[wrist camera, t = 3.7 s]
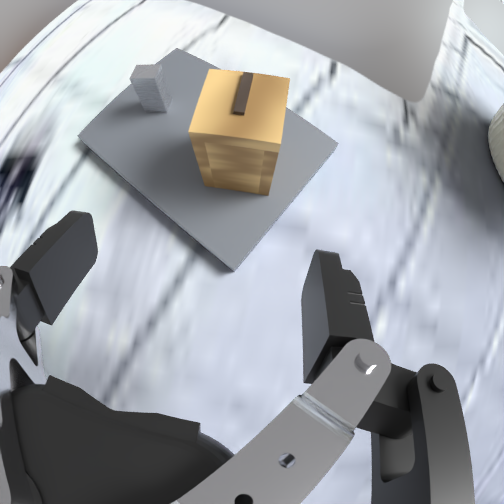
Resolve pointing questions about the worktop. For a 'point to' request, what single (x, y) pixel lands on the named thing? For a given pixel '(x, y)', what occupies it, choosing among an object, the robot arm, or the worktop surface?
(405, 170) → the worktop surface
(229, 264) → the slate base plate
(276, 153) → the ochre knob
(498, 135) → the canister
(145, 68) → the metal shaft
